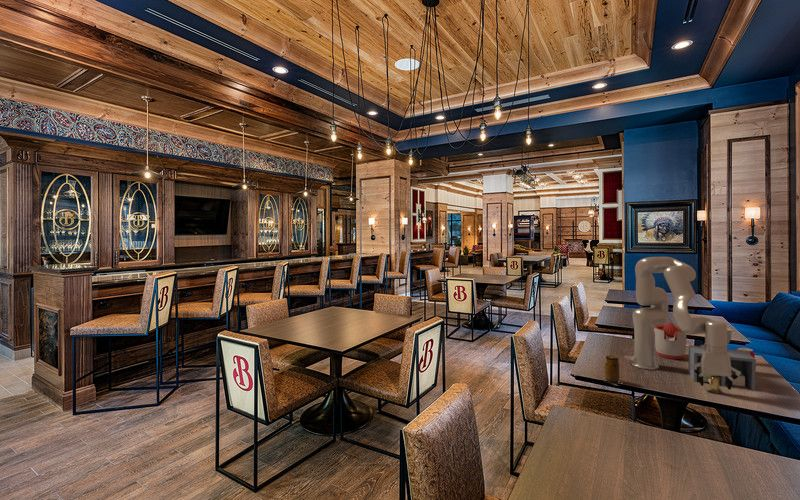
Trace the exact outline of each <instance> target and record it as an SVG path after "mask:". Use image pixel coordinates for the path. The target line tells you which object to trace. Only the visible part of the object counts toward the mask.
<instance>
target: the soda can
mask: <svg viewBox="0 0 800 500" xmlns="http://www.w3.org/2000/svg"><path fill="white" fill-rule="evenodd" d="M737 350H740V351H746V352H748V353H749V354H750V355H751V356H752V357H753V358H755V359H756V357H755V355H756V354H755V353H754V350H753V349H751V348H748V347H737Z"/></svg>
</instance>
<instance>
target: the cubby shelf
mask: <svg viewBox="0 0 800 500" xmlns="http://www.w3.org/2000/svg"><path fill="white" fill-rule="evenodd" d="M703 350H705V349H704V348H701V345H691V344H689V345H688V364H687V365H688V371H687V372H688V375H690V378H691V379H692V381H693V382H695V383H697V382H698V375H697V374H696V373H695V372H694V370H693V368H692V367H691V365H693V364H696V363H700V362H701V357H702V352H703ZM727 353H729V355H730V361H731V367H733V368H735V369H737V370H739V371H740V372H741V373H742V374H743V375H744V376H745V385H747V386H748V388H750V389H751V391H756V377H757V376H756V375H757V373H756V370H757V369H756V368H757V365H756V364H757V359H756V357H755V358H753V357H752V356H751V355H750V354H749V353H748V352H746V351H740V350H738V349H729V348H727ZM699 367H701V366H699ZM696 369H697V370H698V367H696ZM731 371H732V370H731ZM733 372H734V371H733ZM716 376H717V375H716ZM718 377H720V383H719V385H721V386H723V387H725V386H726V381H725V376H718Z"/></svg>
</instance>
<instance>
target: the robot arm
mask: <svg viewBox="0 0 800 500" xmlns="http://www.w3.org/2000/svg"><path fill="white" fill-rule="evenodd" d="M634 271H635V300H636V303H637V304H638V305H641V306H644V307H640V308H637V309H635V310H634V311H633V312H632V323H633V328H634V333H633V335H634V336H633V337H634V340H633V341H634V343H633V344H634V346H633V347H634V348H633V349H634V350H633V355H631V356H629V355H624V360H627V361H629V362H630V364H632V365H631V366H633V367H635V368H638V369H643V370H649V371H650V370H651V371H653V370H658V369H659V364H657V363H656V348H655V332H654V328H653V326H655V325H665V323H666V322H667V320H668V318H669V296H668V293H667V292H666V290H665V289H664V288H661V287H660V286H659V287H658V286H656V280H655V277H654V276H653V274H662V273H663V277H664V279H665V281H666V282H667V285H668V287H669V289H670V291H671V294H672V296H673V298H674V301H673V305H672V306H673V307H672V314H673V318H674V321H675V322H676V324H677V325H676V326H679V328H680V329H681V331H682V332H684V333H685V334H686V335H699V334H704V344H700V346H701V348H704V349H705V350H703V352H702V357H701V362H700V363H696V364H693V365H691V367H692V368H693V370H694V372H695V373H696V374H697V382H698V383H699V384H700V386H701V387H702V386H704V381H703V375H704V374H710V375H717V376H725V377H728V378H727V382H726V388H727V389H728V390H729V391H730V390H732V388H733V385H732V384H733V381H734V379H736V378H738V376H739V375H740V374H741V372H740V371H739V370H737V369H735V368H733V367H731V361H730V355H729V353H727V349H728V345H727V328H728V324H727V323H726V322H724V321H722V320H721V321H720V320H714V319H711V318H708V317H704V316H699V317H698V316H696V317H691V315H690V313H689V309H688V305H689V302H690V301H691V300H692V299H693V298H694V297H695V296H696V292H695V291H694V289H693V285H692V284H691V282H692V281H695V279H696V277H697V273H696V270H695V269H694V268H693V267H692V266H691V265H689V264H687V263H685V262H683V261H681V260H678V259H676V258H674V257H671V256H650V257H649V256H648V257H644V258H641V259H640V260H638V261H637V262H636V265H635V266H634ZM645 306H646V307H645ZM647 306H649V307H647ZM699 366H701V370H700V371H698V370H697V369H696V367H699ZM731 370H732V371H734V372H735V374H733V375H732V376H731ZM698 375H699V377H698Z"/></svg>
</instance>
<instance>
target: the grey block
mask: <svg viewBox="0 0 800 500" xmlns="http://www.w3.org/2000/svg"><path fill="white" fill-rule="evenodd" d="M733 374H735V372H733V371H731V376H732V375H733ZM727 378H728V377H725V383H727ZM732 386H737V387H744V388H745V387H746V383H745V376H744V375H743V374H742V373H741V374H740V375H739V376H738V378H736V379H734V381H733V384H732Z"/></svg>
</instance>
